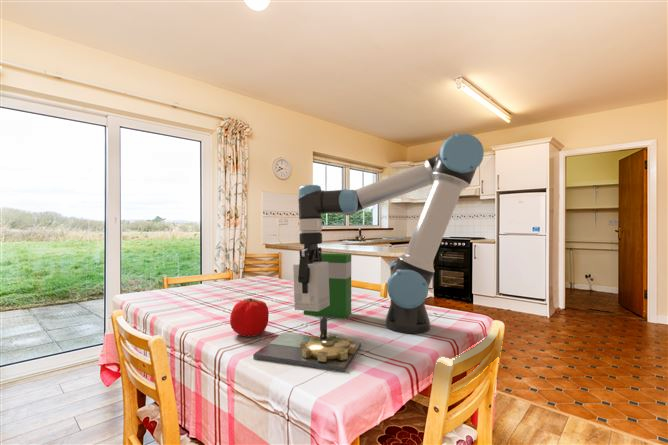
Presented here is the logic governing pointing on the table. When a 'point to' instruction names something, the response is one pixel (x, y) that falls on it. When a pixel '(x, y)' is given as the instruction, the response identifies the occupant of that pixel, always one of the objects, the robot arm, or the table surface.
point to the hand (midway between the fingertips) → (312, 299)
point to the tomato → (249, 317)
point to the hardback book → (337, 286)
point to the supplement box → (313, 287)
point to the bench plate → (300, 353)
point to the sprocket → (327, 345)
